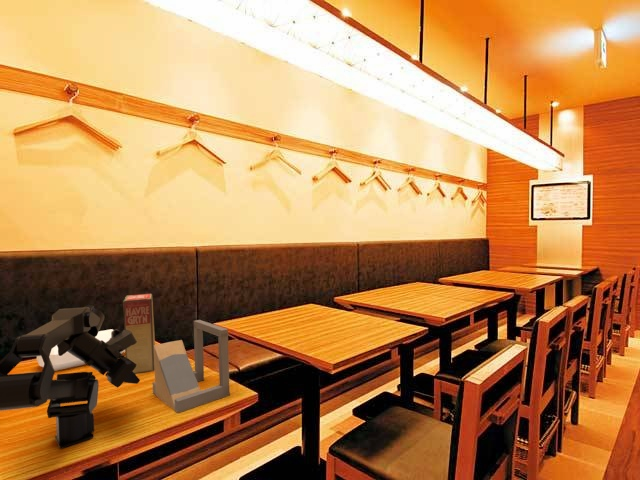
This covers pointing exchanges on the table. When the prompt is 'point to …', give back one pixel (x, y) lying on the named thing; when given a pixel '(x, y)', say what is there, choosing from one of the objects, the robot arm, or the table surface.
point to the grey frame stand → (212, 392)
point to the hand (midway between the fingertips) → (138, 381)
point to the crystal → (67, 358)
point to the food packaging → (140, 331)
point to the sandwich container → (173, 373)
